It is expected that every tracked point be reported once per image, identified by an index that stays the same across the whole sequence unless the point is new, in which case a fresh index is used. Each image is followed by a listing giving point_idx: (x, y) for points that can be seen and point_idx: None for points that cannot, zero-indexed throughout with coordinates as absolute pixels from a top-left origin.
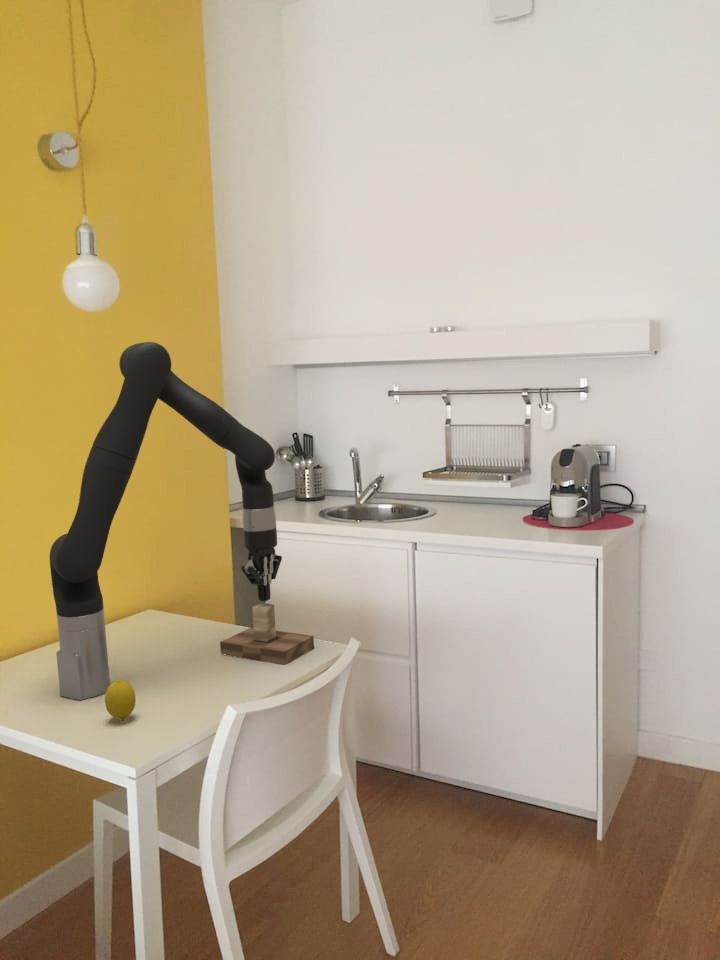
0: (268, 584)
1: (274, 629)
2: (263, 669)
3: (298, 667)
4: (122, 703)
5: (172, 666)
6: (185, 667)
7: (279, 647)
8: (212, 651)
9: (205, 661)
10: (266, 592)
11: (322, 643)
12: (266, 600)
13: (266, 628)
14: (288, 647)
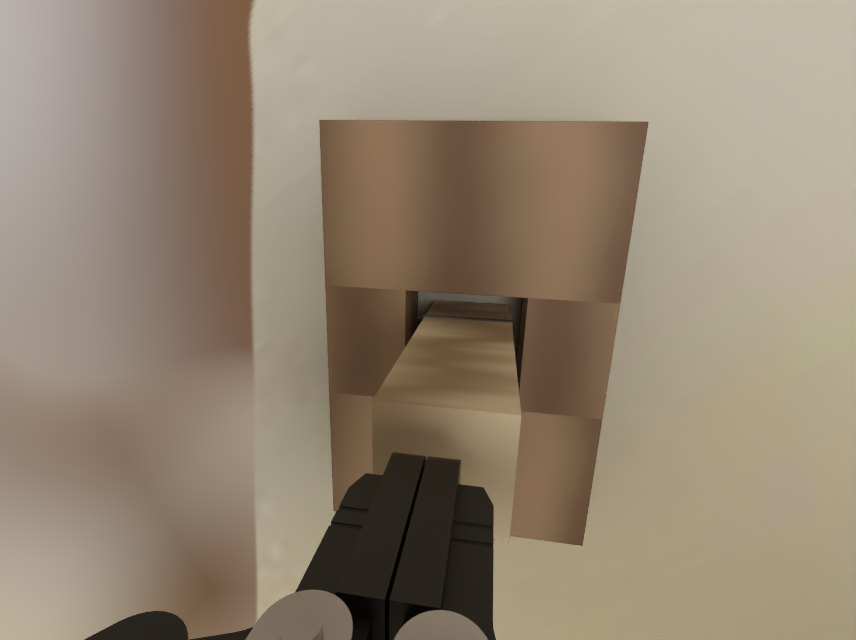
0: (349, 600)
1: (426, 331)
2: (717, 208)
3: (641, 32)
4: None
5: (765, 613)
6: (767, 561)
7: (576, 200)
8: (544, 551)
9: (671, 521)
10: (445, 520)
11: (268, 131)
12: (459, 460)
13: (510, 347)
14: (561, 144)
